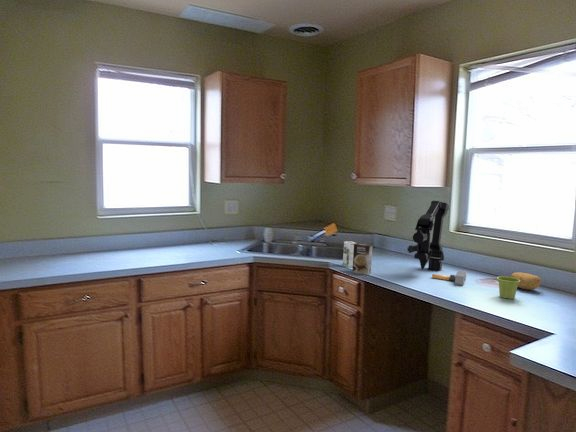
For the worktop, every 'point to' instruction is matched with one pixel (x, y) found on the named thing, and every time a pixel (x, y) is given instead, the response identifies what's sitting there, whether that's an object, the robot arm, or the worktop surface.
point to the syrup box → (348, 253)
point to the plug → (444, 277)
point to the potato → (527, 280)
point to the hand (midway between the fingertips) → (422, 269)
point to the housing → (460, 277)
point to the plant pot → (508, 287)
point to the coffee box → (362, 258)
